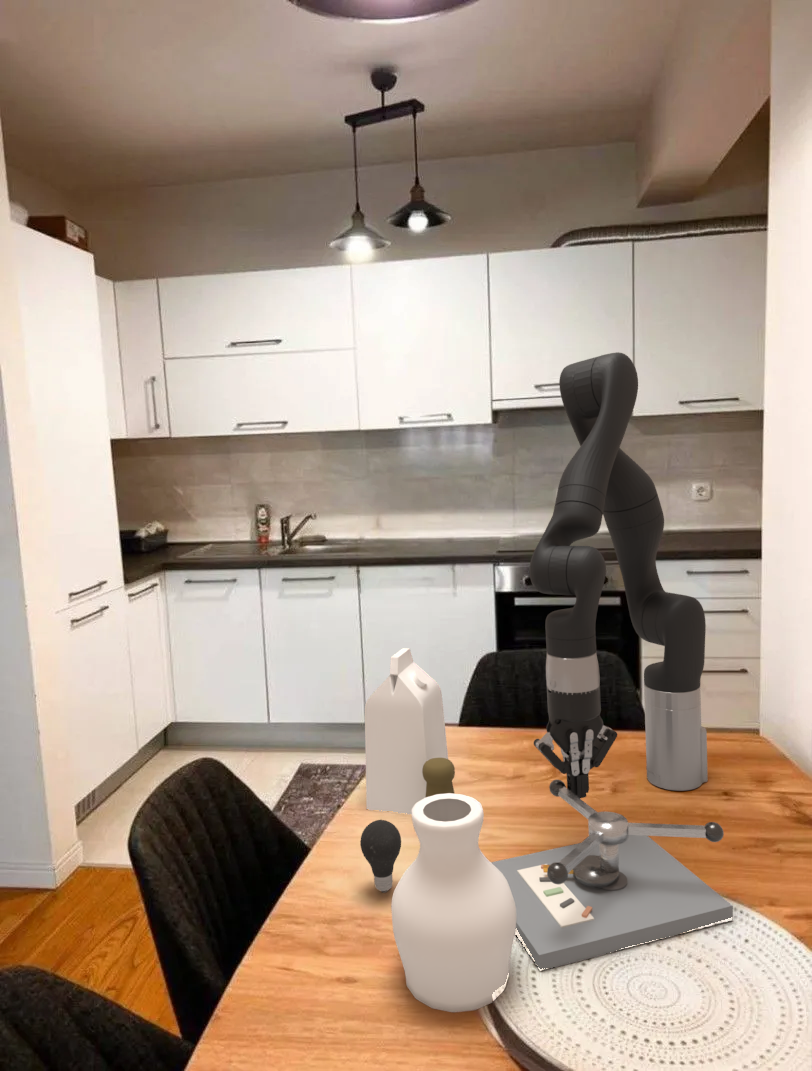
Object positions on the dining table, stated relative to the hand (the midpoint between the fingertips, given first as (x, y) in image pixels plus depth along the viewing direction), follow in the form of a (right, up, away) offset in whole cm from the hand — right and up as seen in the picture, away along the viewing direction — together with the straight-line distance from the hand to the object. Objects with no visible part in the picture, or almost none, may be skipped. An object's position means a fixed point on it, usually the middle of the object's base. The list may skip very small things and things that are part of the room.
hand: (578, 795), depth 110 cm
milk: (-25, -8, +21) cm, 33 cm away
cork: (-20, -9, +10) cm, 24 cm away
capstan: (+4, -6, -12) cm, 14 cm away
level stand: (0, -9, -12) cm, 15 cm away
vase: (-20, -12, -24) cm, 33 cm away
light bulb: (-28, -11, -7) cm, 31 cm away
